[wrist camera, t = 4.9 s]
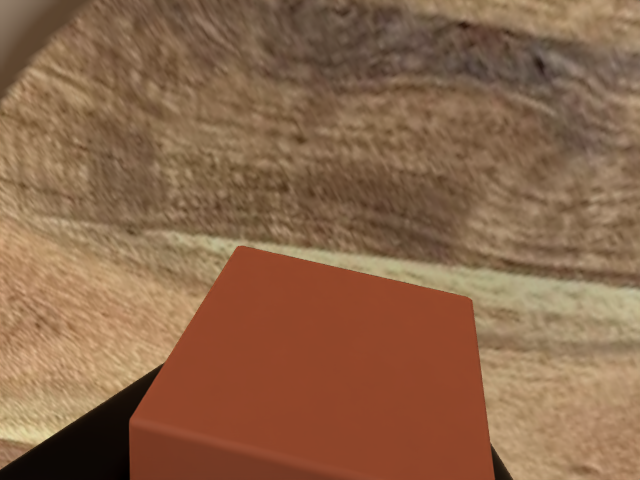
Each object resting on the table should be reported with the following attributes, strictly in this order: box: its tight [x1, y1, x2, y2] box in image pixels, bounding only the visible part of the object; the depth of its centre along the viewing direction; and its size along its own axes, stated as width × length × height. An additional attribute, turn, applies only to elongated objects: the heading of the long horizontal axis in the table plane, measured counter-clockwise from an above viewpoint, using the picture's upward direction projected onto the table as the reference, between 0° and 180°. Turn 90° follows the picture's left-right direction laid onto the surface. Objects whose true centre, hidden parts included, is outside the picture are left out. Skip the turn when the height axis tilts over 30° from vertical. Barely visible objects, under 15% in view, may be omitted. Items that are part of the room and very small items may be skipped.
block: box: [129, 246, 495, 480], centre depth 8 cm, size 4×4×4 cm
